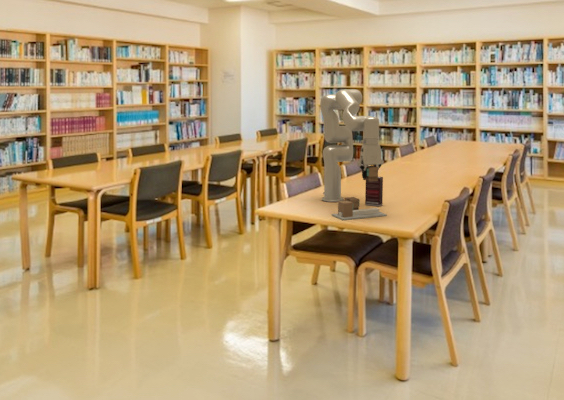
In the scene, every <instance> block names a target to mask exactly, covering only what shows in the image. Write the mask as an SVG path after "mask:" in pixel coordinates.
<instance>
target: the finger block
mask: <svg viewBox="0 0 564 400" xmlns="http://www.w3.org/2000/svg"><path fill="white" fill-rule="evenodd" d="M366 171H367V178H366V179H365V178H362V180H363V181H366V180H368V181H369V182H371V181H378V177H379V170H378V167H376V166H373V165H367V168H366Z"/></svg>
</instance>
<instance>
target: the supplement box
mask: <svg viewBox="0 0 564 400" xmlns="http://www.w3.org/2000/svg"><path fill="white" fill-rule="evenodd" d="M383 184H384V177H383V176H378V181H371V182H369V181H368V180H365V197H364V198H365V201H364V202H365V203H364V205H365V206H372V207H381V206H383V195H384V193H383V191H384V190H383V188H384V185H383Z"/></svg>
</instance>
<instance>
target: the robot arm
mask: <svg viewBox="0 0 564 400" xmlns="http://www.w3.org/2000/svg"><path fill="white" fill-rule="evenodd" d="M362 101H363V94H362V92H361V91H360V90H359V89H355V88H354V89H353V88H350V89H340V90H338V91H337V92H336V93H335V94H333V93H330V94H325V95H323V96H322V97H321V99H320V112H321V114H322V118H323V134H324V140H325V142H327V143H329V144H330V145H327V146H326V147H324V148H323V150H322V157H323V162H324V163H323V165H324V166H323V167H324V171H323V172H324V178H323V179H324V182H323V183H324V186H323V187H324V189H323V190H324V191H323V193H322V194H323V195H324V196H322V197H321V201H323V202H328V203H338V201H344V197H342V168H341V167H340V165H339V164H338V163H339V162H341V163H342V162H343V163H344V162H350V161H351V160H353V158H354V142H353V140H354V139H353V132H363V136H362V137H363V138H362V139H361V140H360V142H361V143H362V145H361V147H360V156H359V160H358V161H357V162H356V165H357V167H359V168H360V170H361V178H362V179H363V178H365V179H366V178H367V171H366V168H367V166H376V167H378V171H379V170H380V168H381V167H382V165H384V163H385V162H384V160H383V159H382V150H381V145H380V144H379V134H380V132H379V131H380V126H379V125H380V119H379V117H378V116H377V117H376V116H371V115H357V113H358V112H359V111H360V109H361V108H360V104H362ZM336 110H339V111H341V110H342V111H343V112H342V122H343V124H344V125H340V123H339V116H338V115H337V112H336ZM333 143H334V144H333ZM335 143H337V144H335ZM339 143H341V144H339ZM331 144H332V145H331Z"/></svg>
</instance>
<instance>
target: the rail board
mask: <svg viewBox="0 0 564 400" xmlns="http://www.w3.org/2000/svg"><path fill="white" fill-rule="evenodd" d="M337 205H338V206H337V213H332V214H331V216H332V217H335V218H337V219H339V220H341V221H343V220H344V221H352V219H353V220H362V219H368V218H369V219H370V218H371V219H373V218H379V217H387V215H388V214H386V213H384V212H380V208H378V207H372V208H364V209H359V210H353V203H352V202H350V201H345V200H343V201H338V202H337Z"/></svg>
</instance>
